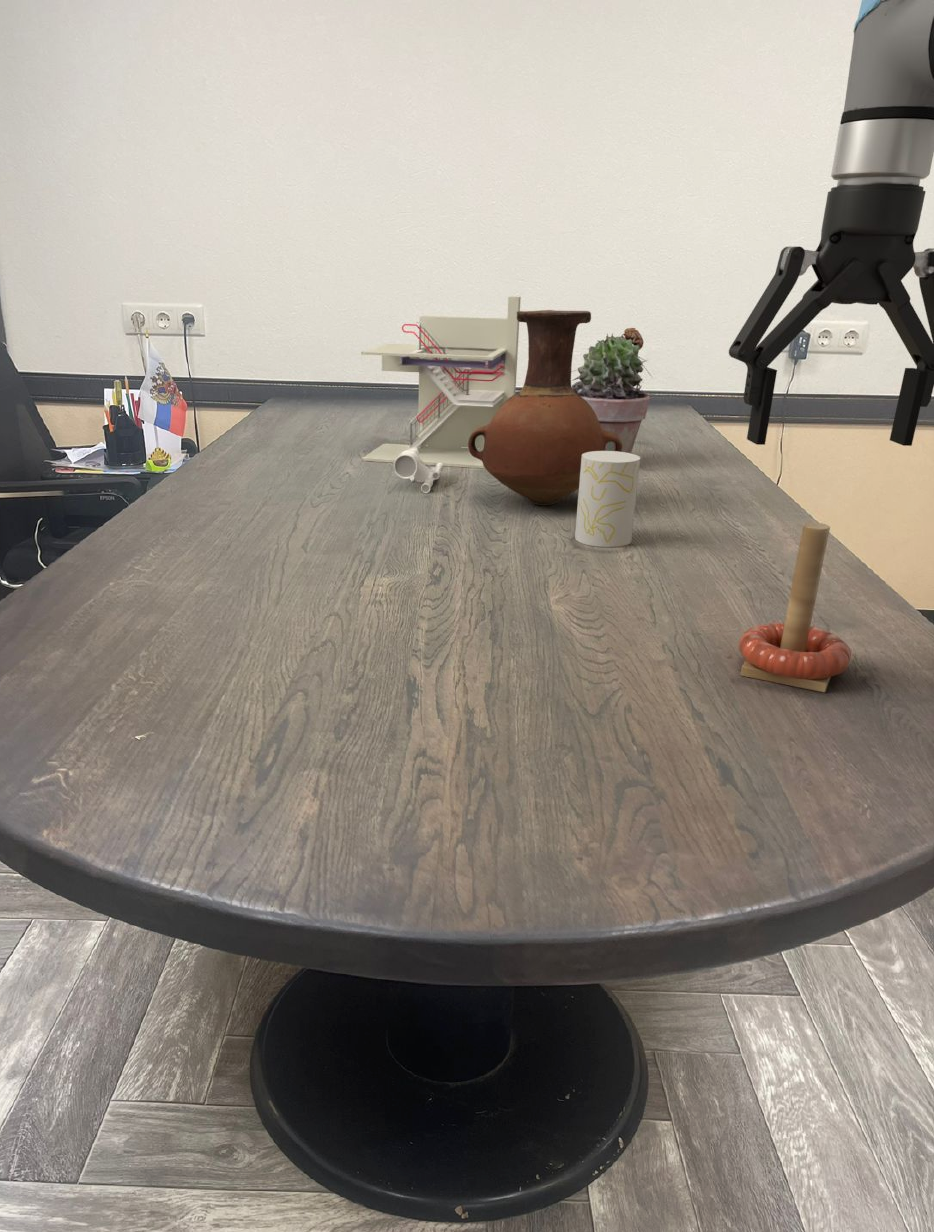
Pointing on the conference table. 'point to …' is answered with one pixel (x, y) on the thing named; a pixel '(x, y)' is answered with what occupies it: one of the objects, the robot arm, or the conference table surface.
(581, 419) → the vase
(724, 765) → the conference table surface
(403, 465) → the white pipe fitting
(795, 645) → the post
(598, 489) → the white patterned cylinder
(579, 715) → the conference table surface
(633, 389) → the potted plant
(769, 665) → the ring
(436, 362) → the staircase
